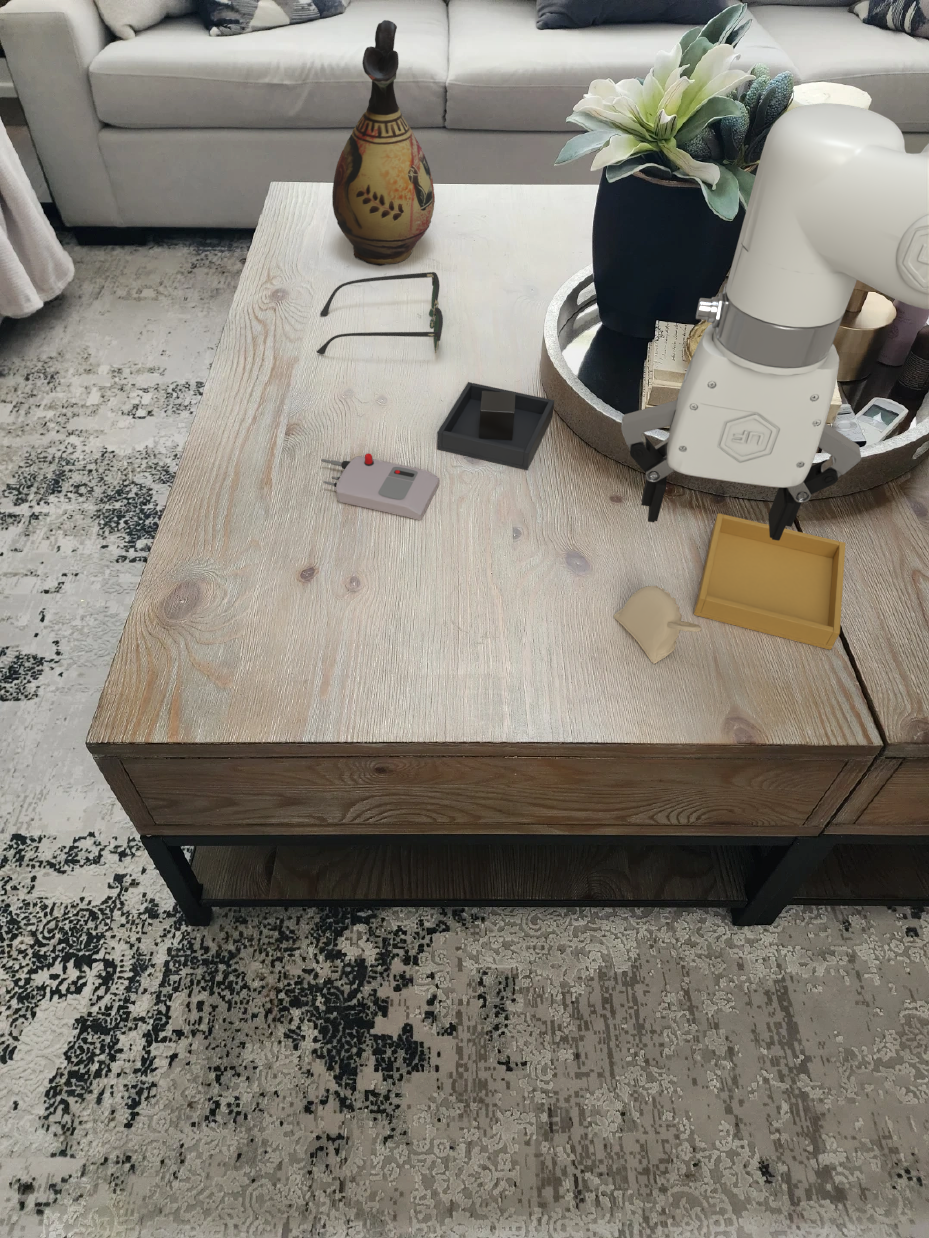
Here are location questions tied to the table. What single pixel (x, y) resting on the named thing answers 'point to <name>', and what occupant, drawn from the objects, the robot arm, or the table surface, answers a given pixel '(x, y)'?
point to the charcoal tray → (519, 452)
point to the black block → (497, 415)
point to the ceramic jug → (383, 169)
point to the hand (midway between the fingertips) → (712, 519)
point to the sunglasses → (433, 324)
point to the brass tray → (773, 581)
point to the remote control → (385, 486)
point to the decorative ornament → (654, 621)
